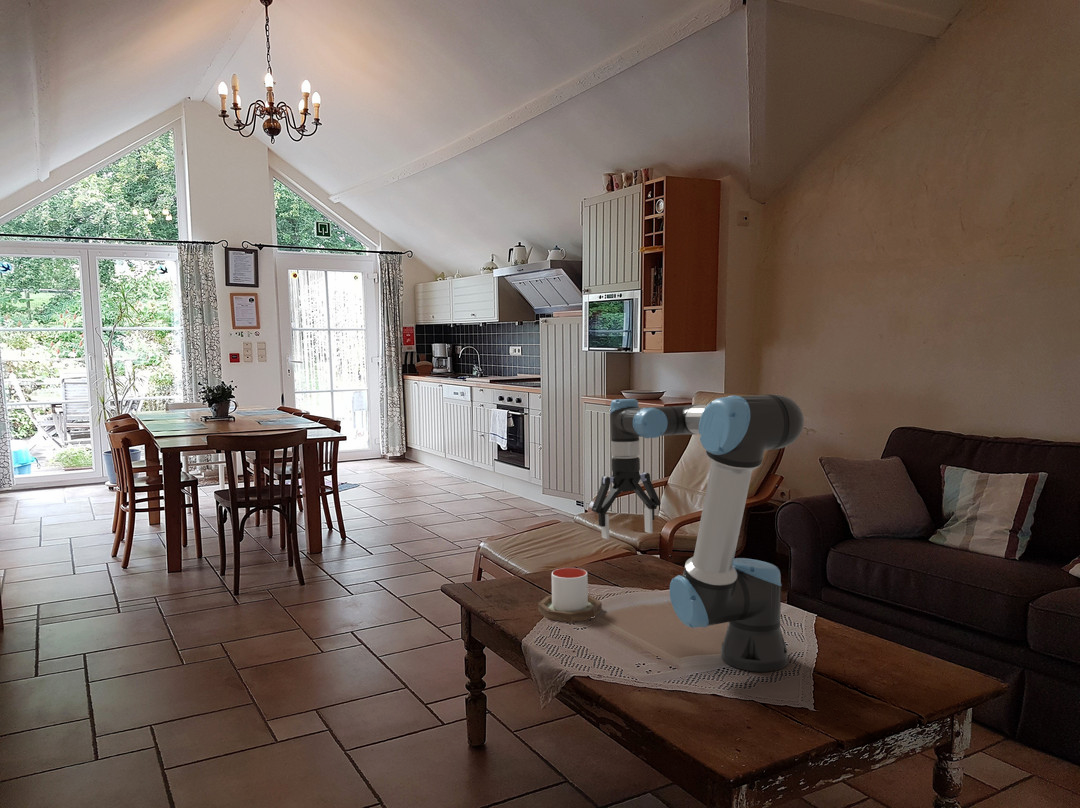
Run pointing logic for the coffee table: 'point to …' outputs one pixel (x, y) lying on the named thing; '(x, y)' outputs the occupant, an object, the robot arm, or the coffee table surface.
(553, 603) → the cup
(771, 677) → the coffee table surface
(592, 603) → the tray
